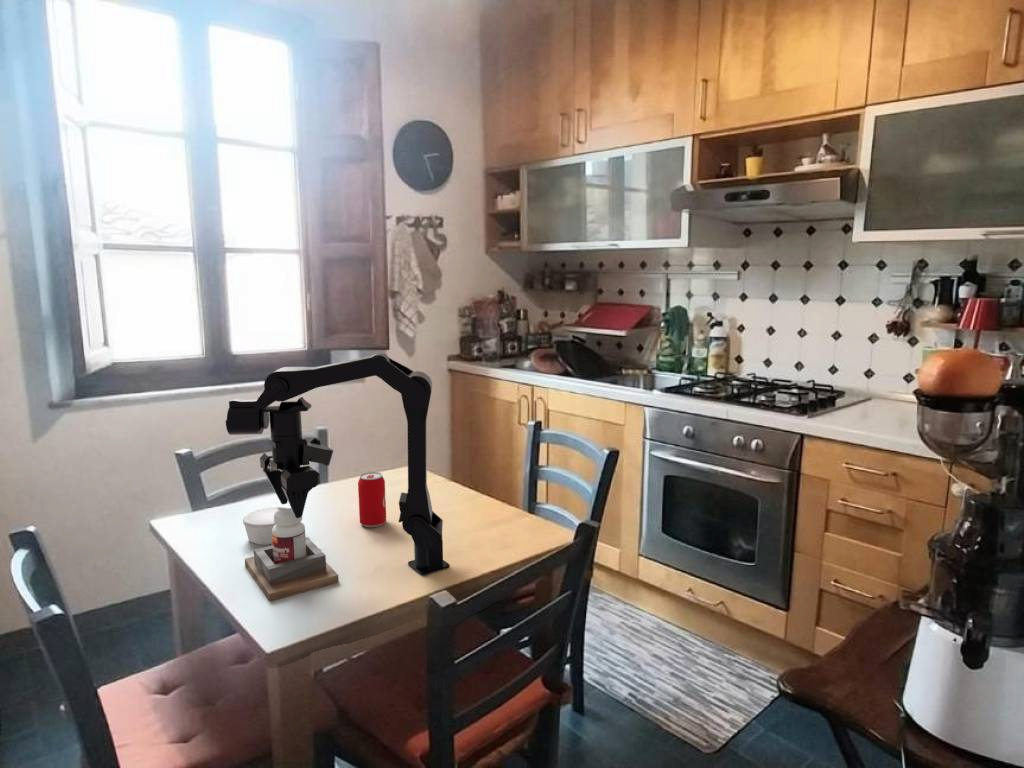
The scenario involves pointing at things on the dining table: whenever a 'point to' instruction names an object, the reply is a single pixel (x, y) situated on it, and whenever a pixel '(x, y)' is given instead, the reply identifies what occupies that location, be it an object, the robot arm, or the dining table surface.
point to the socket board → (290, 572)
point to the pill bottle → (288, 537)
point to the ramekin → (260, 525)
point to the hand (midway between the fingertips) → (291, 510)
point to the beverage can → (372, 499)
